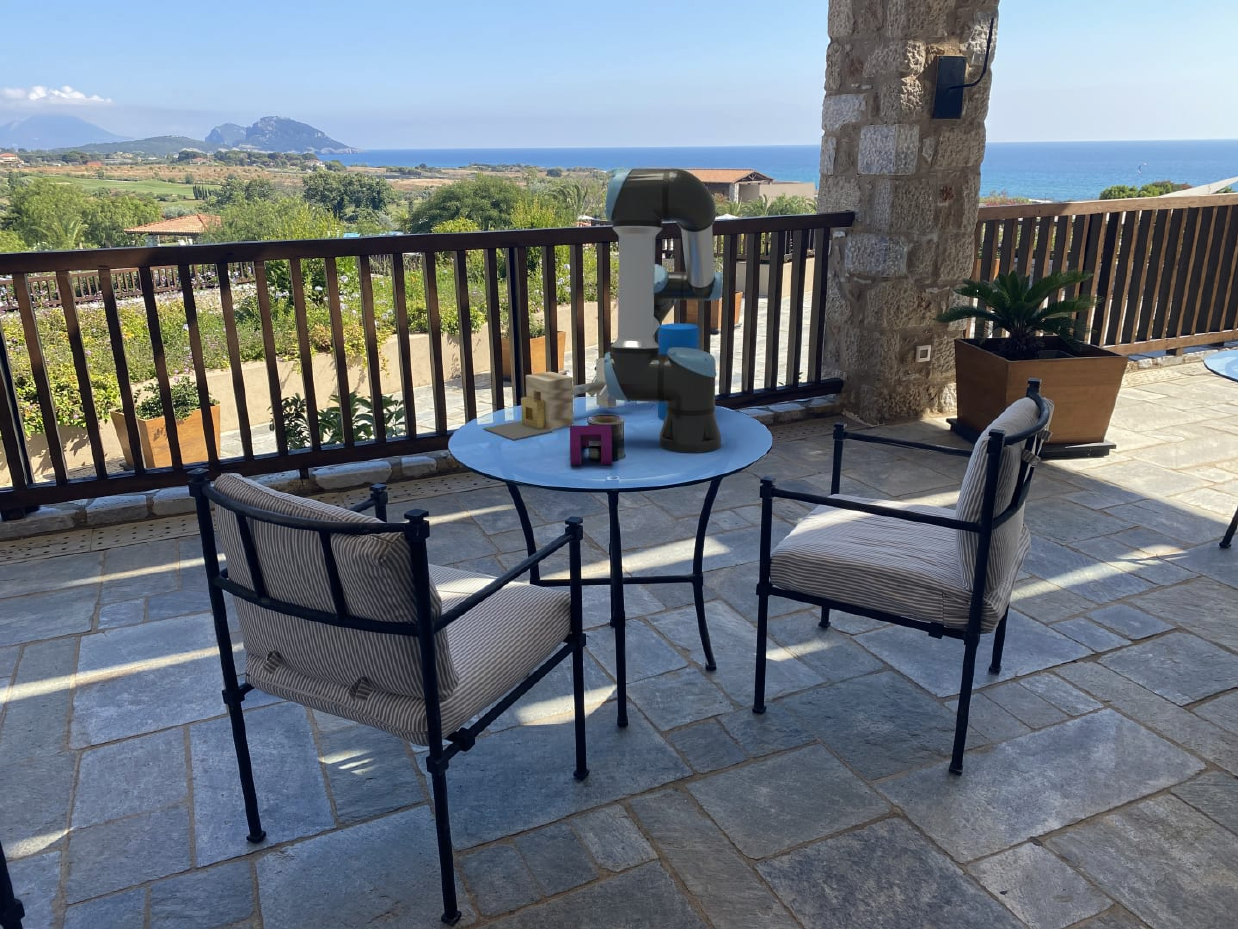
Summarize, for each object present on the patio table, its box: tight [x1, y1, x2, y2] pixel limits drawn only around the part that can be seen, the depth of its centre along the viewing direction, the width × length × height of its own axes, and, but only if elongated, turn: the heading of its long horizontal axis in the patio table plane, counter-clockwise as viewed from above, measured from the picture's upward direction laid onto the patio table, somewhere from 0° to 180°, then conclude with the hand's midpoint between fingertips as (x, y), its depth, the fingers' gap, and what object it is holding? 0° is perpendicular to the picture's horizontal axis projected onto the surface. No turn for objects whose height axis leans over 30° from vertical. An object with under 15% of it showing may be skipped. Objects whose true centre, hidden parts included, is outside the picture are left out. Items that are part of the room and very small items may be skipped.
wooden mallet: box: [573, 357, 617, 409], centre depth 238 cm, size 22×5×13 cm, turn 130°
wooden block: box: [525, 371, 575, 431], centre depth 233 cm, size 8×10×13 cm
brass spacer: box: [520, 396, 545, 430], centre depth 230 cm, size 2×7×7 cm, turn 40°
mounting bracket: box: [569, 424, 613, 466], centre depth 206 cm, size 10×8×18 cm
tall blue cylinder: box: [657, 323, 700, 421], centre depth 238 cm, size 11×11×25 cm
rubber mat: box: [483, 419, 553, 442], centre depth 229 cm, size 12×14×1 cm
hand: (596, 395), depth 243 cm, fingers closed on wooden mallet, 5 cm apart
